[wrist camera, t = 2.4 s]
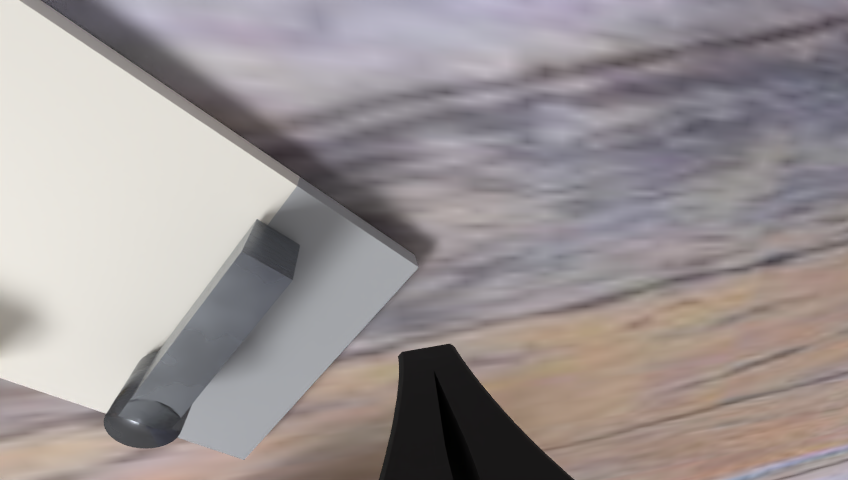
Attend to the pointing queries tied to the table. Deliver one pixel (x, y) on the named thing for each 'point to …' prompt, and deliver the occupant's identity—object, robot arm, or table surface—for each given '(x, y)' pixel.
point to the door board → (157, 236)
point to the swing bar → (203, 340)
